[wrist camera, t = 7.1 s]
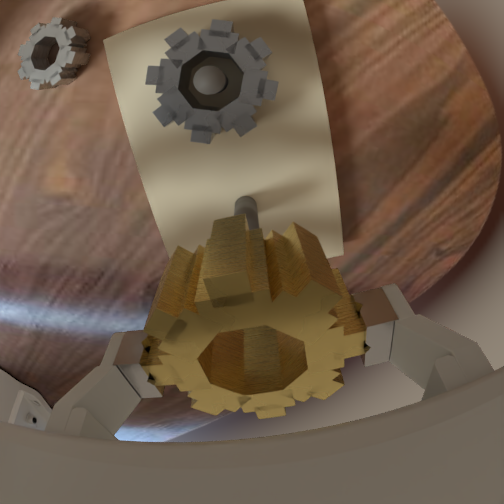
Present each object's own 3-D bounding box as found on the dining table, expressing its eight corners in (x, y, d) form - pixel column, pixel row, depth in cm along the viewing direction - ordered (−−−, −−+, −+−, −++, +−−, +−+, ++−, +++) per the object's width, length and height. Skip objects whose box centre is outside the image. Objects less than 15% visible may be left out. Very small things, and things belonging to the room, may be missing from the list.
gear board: (338, 244, 23) (361, 287, 18) (183, 274, 24) (171, 322, 19) (295, -4, 15) (314, -33, 10) (112, 42, 16) (72, 32, 11)
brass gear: (341, 339, 13) (360, 400, 10) (195, 363, 13) (188, 425, 10) (330, 196, 10) (364, 247, 7) (136, 237, 10) (103, 297, 7)
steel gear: (293, 95, 17) (303, 97, 14) (203, 155, 18) (196, 168, 15) (230, 11, 14) (227, -3, 11) (140, 75, 16) (121, 74, 13)
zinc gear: (101, 61, 16) (86, 60, 14) (47, 100, 17) (30, 103, 15) (78, 8, 14) (63, 3, 12) (27, 49, 15) (9, 48, 13)
